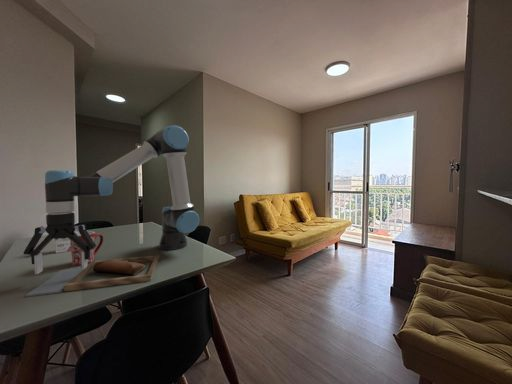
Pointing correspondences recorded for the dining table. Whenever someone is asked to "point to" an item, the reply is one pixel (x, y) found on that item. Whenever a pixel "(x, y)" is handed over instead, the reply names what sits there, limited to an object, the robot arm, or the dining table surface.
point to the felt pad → (55, 283)
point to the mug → (77, 250)
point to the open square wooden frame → (77, 285)
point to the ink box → (63, 244)
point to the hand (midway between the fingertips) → (62, 270)
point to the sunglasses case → (119, 266)
